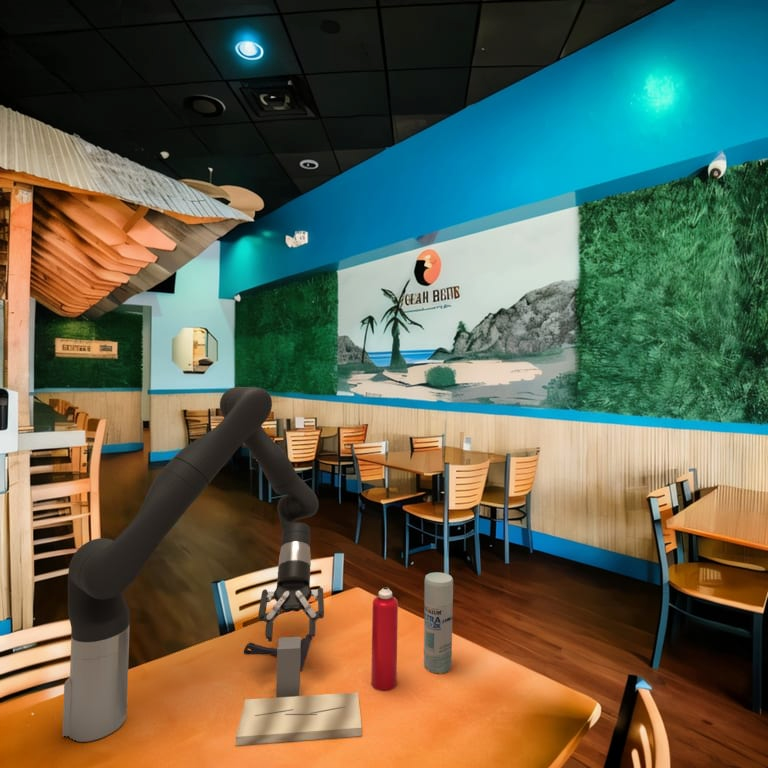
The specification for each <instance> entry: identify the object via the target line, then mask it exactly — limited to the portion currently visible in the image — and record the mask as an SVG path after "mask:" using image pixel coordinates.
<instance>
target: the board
mask: <svg viewBox="0 0 768 768" xmlns="http://www.w3.org/2000/svg"><path fill="white" fill-rule="evenodd" d="M359 700H360V699H359V692H358V691H357V692H356V691H355V692H342V693H328V694H313V695H299V696H294V697H278V698H276V697H266V698H265V697H264V698H250V699H247V698H246V699H245V701H244V705H243V707H242V711H241V715H240V719H239V722H238V727H237V730H236V735H235V747H236V746H249V745H263V744H274V743H289V742H302V741H315V740H328V739H339V738H340V739H341V738H355V737H362V736H363V735H362V731H363V730H362V719H361V711H360V710H361V709H360V702H359Z"/></svg>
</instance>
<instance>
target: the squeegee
mask: <svg viewBox="0 0 768 768" xmlns="http://www.w3.org/2000/svg"><path fill="white" fill-rule="evenodd" d="M311 642H312V640H309V633H306V635H305V637H303V638H301V662H300V673H301V672H302V671H303V667H304V666H305V661H306V658H307V655H308V651H309V648H310V645H311ZM243 654H244V655H267V656H269V655H270V656H275V657H277V648H275V647H268V646H263V645H260V644H256V643H253V642H248V643H247V644H246V645H245V646H244V648H243Z"/></svg>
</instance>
